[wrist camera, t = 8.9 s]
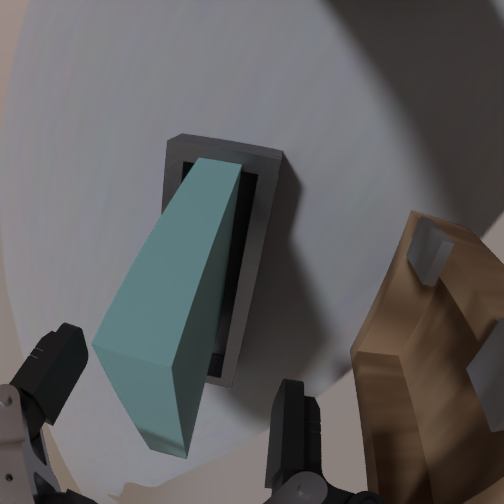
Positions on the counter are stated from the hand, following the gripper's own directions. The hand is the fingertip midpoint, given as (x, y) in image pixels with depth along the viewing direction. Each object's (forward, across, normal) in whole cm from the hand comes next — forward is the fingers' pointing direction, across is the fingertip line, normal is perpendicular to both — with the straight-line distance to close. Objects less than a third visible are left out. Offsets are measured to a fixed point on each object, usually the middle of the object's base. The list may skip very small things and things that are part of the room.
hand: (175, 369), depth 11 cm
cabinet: (+7, -12, -1) cm, 14 cm away
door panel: (+6, 0, -2) cm, 6 cm away
